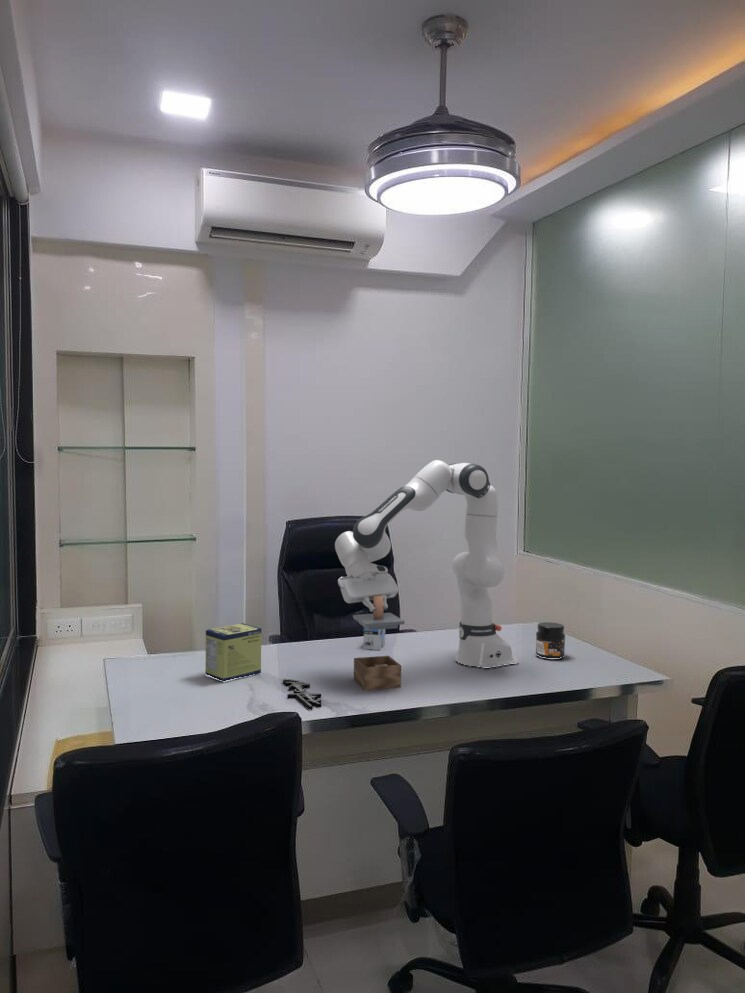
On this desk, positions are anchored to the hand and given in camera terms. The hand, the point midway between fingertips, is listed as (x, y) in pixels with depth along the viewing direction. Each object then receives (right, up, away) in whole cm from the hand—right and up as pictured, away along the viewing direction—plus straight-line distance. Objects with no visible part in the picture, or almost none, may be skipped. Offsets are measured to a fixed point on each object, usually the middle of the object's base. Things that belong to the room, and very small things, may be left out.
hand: (379, 609), depth 242 cm
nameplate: (-24, -25, -11) cm, 36 cm away
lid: (0, -5, +1) cm, 5 cm away
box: (-1, -24, +2) cm, 24 cm away
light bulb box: (-2, -22, +48) cm, 53 cm away
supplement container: (+63, -23, +37) cm, 77 cm away
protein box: (-48, -23, +8) cm, 54 cm away
